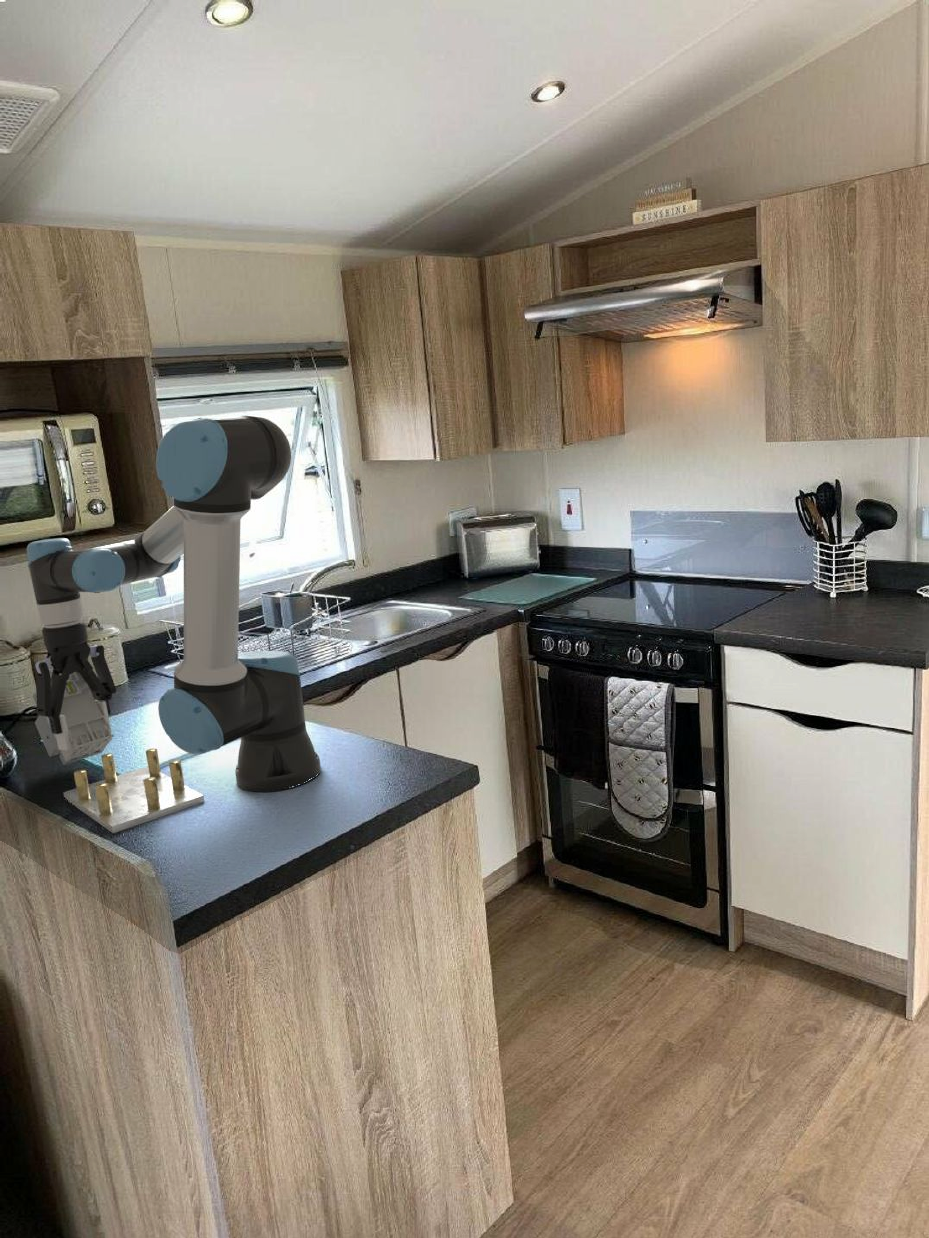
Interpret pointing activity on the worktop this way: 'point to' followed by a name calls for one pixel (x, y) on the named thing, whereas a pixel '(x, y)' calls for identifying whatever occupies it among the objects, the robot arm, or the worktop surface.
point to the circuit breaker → (77, 723)
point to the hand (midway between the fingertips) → (85, 741)
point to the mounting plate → (132, 794)
